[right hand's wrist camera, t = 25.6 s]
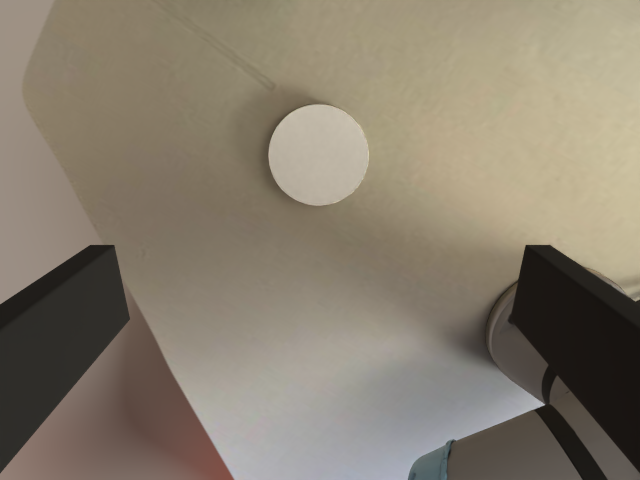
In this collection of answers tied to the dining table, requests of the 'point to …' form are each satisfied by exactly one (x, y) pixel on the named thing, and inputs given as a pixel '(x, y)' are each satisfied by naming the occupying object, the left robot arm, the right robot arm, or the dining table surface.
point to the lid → (318, 154)
